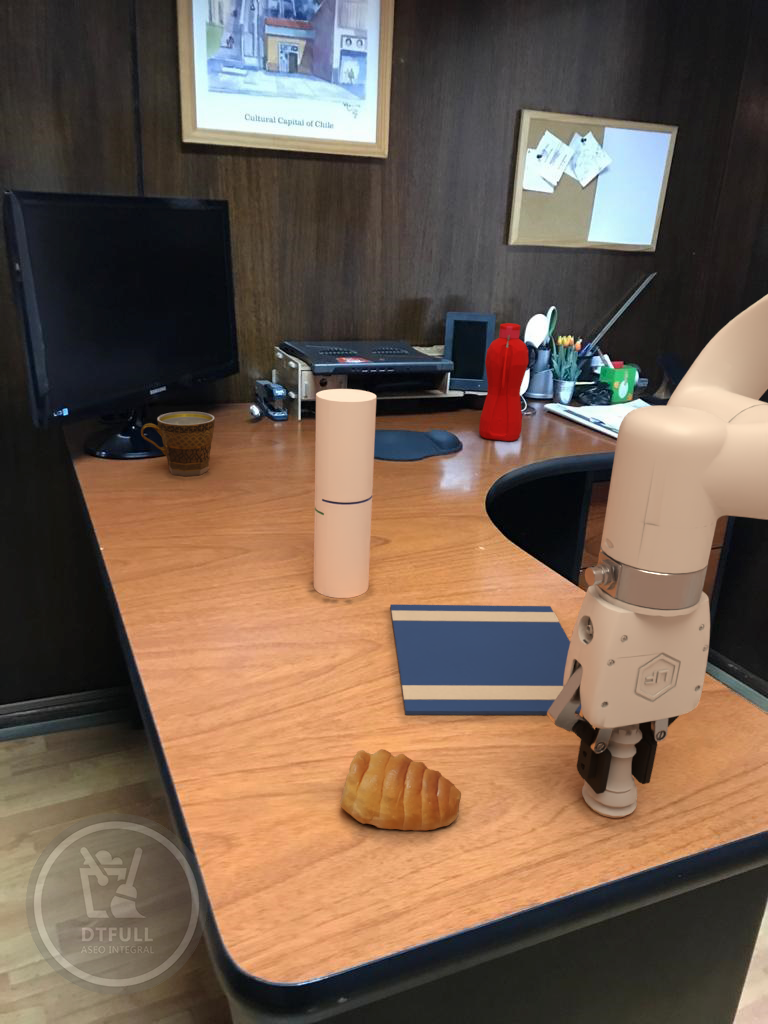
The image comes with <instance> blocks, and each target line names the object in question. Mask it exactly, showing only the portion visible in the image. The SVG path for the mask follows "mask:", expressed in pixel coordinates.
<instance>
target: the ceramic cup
mask: <svg viewBox="0 0 768 1024" xmlns="http://www.w3.org/2000/svg"><path fill="white" fill-rule="evenodd" d="M156 421H157V424H154V423H152V422H151V423H150V422H149V423H145V424H144V425H143V426H142V427H141V429H140V435H141V437H142V438H143V439H144V440H145V441H147V442H148V443H149V444H152V445H153V446H155V447H156V448H157V449H158V450H159V451H161V452H162V454H163V455H164V456H165V457H166V460H167V465H168V468H169V472H170V473H171V475H173V476H179V477H184V478H187V477H196V476H201V475H203V474H205V473H207V472H208V470H209V464H210V458H211V451H212V441H213V437H214V431H215V421H216V418H215V416H214V415H212V414H210V413H207V412H203V411H202V412H201V411H189V410H188V411H174V412H168V413H164V414H163V413H162V414H160V415H159V416H157V418H156ZM147 428H152V429H154V430H155V431H156V432H157V433H158V434H159V436H160V437H161V440H162V444H163V446H160V445H158V444H157V443H156V442H154V441H153V440H151V439H150V438H148V437H146V436H145V434H144V430H145V429H147Z"/></svg>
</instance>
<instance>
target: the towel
mask: <svg viewBox="0 0 768 1024" xmlns="http://www.w3.org/2000/svg"><path fill="white" fill-rule="evenodd" d="M389 609H390V615H391V623H392V629H393V630H392V631H393V636H394V644H395V651H396V657H397V664H398V665H397V666H398V672H399V679H400V686H401V694H402V700H403V707H404V714H405V715H406V716H547V711H548V710H549V708H550V707H551V705H552V704H553V702H554V701H555V699H556V698H557V697H558V695H559V694H560V692H561V691H562V689H563V680H564V672H565V666H566V660H567V655H568V650H569V646H570V641H571V640H570V639H569V637H568V636H567V633H566V632H565V630H564V628H563V626H562V625H561V622H560V620H559V618H558V616H557V615H556V612H554V610H553V608H552V607H551V605H485V604H484V605H483V604H481V605H479V604H477V605H476V604H475V605H474V604H473V605H472V604H471V605H469V604H392V603H391V604H390V608H389ZM580 710H581V704H580V706H579V707H578V708H577V710H576V711H575V712H577V713H578V714H580ZM405 715H404V716H405Z"/></svg>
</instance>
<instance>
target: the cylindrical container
mask: <svg viewBox="0 0 768 1024" xmlns="http://www.w3.org/2000/svg"><path fill="white" fill-rule="evenodd" d="M376 414H377V395H376V394H375V393H373V392H370V391H368V390H367V391H366V390H362V389H355V388H354V389H352V388H332V389H323V390H320V391H318V392H316V393H315V440H314V441H315V445H314V450H315V451H314V453H315V454H314V517H313V518H314V520H313V521H314V522H313V523H314V524H313V525H314V527H313V528H314V529H313V531H314V533H313V539H314V540H313V588H314V590H315V592H317V593H318V594H320V595H322V596H325V597H329V598H335V599H349V598H350V599H351V598H355V597H356V598H357V597H358V596H362V595H364V594H365V593H366V592H367V591H368V590H369V585H370V564H371V563H370V562H371V561H370V560H371V537H372V536H371V535H372V533H371V532H372V514H373V493H374V492H373V491H374V490H373V489H374V467H375V466H374V465H375V464H374V463H375V444H376V443H375V439H376V419H377V418H376Z"/></svg>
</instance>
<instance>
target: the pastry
mask: <svg viewBox="0 0 768 1024" xmlns="http://www.w3.org/2000/svg"><path fill="white" fill-rule="evenodd" d="M348 768H349V769H348V774H347V775H346V780H345V783H344V787H343V791H342V794H341V799H340V801H339V804H340V807H341V808H342V810H344V811H345V812H346V813H347V814H348V815H350V816H351V817H352V818H353V819H355V820H356V821H357V822H359V823H361V824H362V825H364V824H368V825H373V826H375V827H376V828H378V829H385V830H386V829H387V830H401V831H404V832H406V831H413V832H416V831H429V830H436V829H439V828H443V827H449V826H450V825H451V824H452V823H454V822H455V821H456V820H457V818H458V814H459V811H460V804H461V799H462V792H461V791H460V789H459V788H457V787H456V785H455V784H454V783H453V782H452V781H451V780H450V779H448V778H446V777H445V776H443V775H442V773H441V772H440V771H439V770H435V769H430V768H429V767H428V766H427V765H426V764H425V763H424V762H423V761H414V760H413V759H411V758H410V757H408V756H407V755H405V754H404V753H399V754H396V755H393V754H392V753H391V752H389V750H386V749H383V748H381V749H379V750H377V751H376V752H374V753H369V752H367V751H365V750H363V749H360V750H358V751H357V752H356V754H355V755H354V757H352V760H351V762H350V764H349V767H348Z"/></svg>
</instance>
